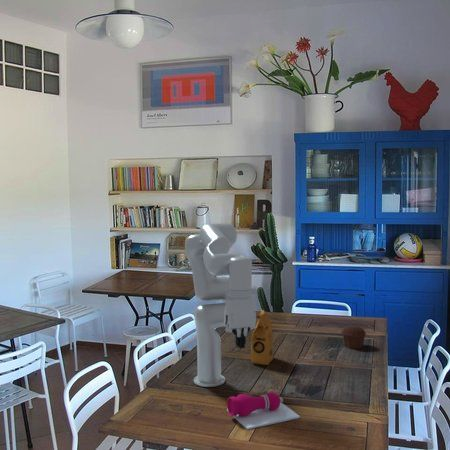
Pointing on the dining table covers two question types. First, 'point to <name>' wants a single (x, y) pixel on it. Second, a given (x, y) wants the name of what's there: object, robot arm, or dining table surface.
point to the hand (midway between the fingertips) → (240, 347)
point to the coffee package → (262, 341)
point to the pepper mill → (252, 403)
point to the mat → (266, 417)
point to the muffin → (353, 336)
